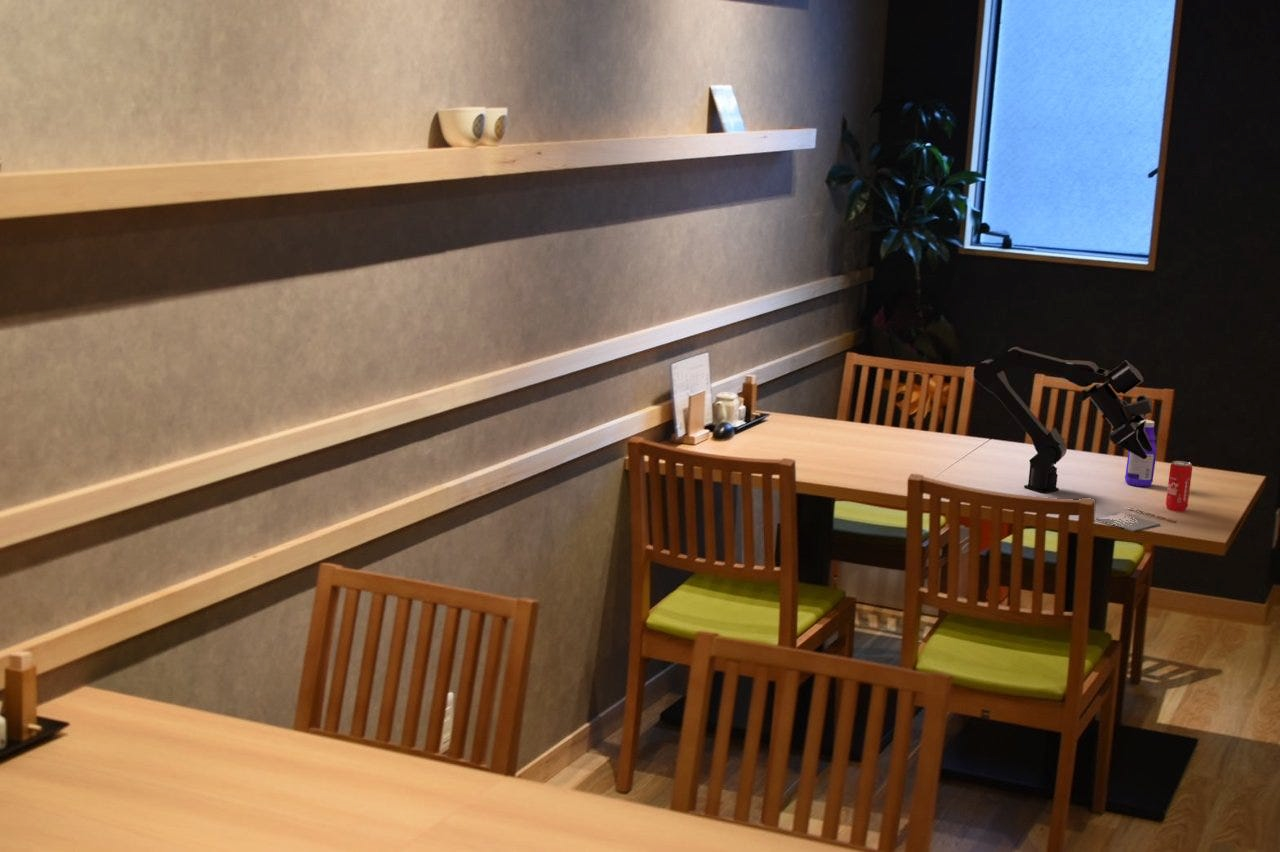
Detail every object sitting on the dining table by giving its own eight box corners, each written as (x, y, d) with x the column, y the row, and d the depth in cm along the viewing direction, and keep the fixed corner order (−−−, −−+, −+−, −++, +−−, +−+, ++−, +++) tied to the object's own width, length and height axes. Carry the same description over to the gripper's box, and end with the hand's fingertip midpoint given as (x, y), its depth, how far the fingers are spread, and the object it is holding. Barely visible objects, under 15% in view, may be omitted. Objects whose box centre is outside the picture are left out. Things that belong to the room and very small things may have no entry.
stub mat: (1093, 520, 370) (1093, 518, 370) (1121, 514, 376) (1121, 512, 376) (1132, 531, 361) (1132, 530, 361) (1159, 525, 368) (1160, 523, 368)
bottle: (1152, 483, 408) (1160, 420, 404) (1152, 488, 402) (1160, 424, 398) (1124, 480, 410) (1131, 417, 406) (1123, 485, 405) (1131, 421, 401)
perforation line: (1124, 508, 381) (1124, 507, 381) (1127, 508, 382) (1127, 506, 382) (1173, 522, 371) (1174, 521, 371) (1176, 522, 371) (1176, 520, 371)
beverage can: (1188, 513, 380) (1194, 466, 377) (1166, 511, 381) (1172, 464, 378) (1185, 507, 385) (1191, 461, 382) (1163, 505, 386) (1169, 459, 383)
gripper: (1130, 392, 373) (1170, 443, 371) (1142, 380, 390) (1180, 429, 388) (1093, 418, 378) (1132, 469, 376) (1106, 405, 395) (1144, 454, 393)
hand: (1148, 454), depth 383 cm, fingers open, 9 cm apart
